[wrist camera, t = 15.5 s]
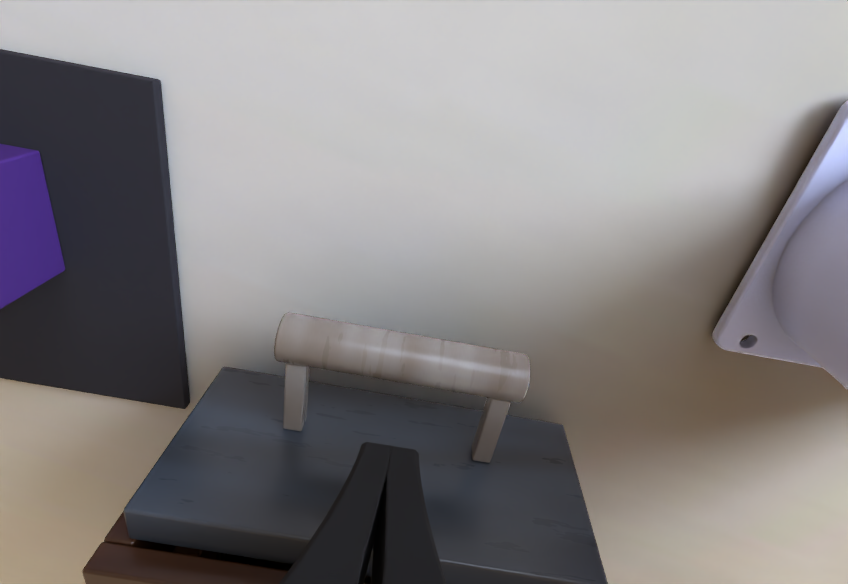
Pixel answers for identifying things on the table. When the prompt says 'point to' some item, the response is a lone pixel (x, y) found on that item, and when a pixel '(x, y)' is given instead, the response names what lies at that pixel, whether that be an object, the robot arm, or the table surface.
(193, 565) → the cabinet
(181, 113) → the table surface
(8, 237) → the snack box
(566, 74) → the table surface
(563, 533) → the drawer
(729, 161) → the table surface
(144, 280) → the mat
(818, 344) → the robot arm
